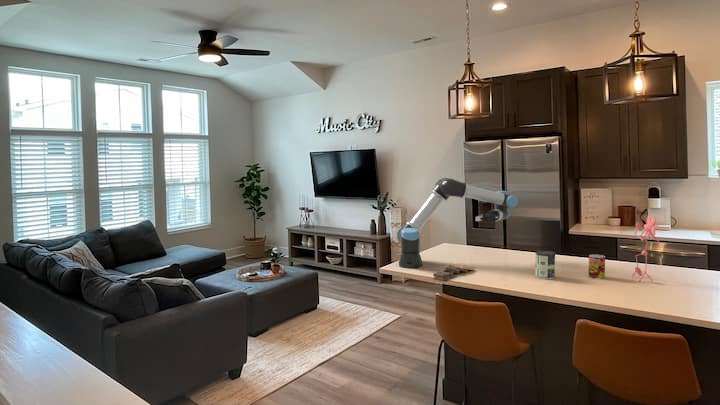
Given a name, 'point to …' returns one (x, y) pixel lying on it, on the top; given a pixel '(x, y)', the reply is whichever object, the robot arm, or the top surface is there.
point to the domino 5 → (464, 267)
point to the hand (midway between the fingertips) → (476, 219)
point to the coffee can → (545, 264)
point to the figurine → (650, 230)
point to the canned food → (596, 266)
